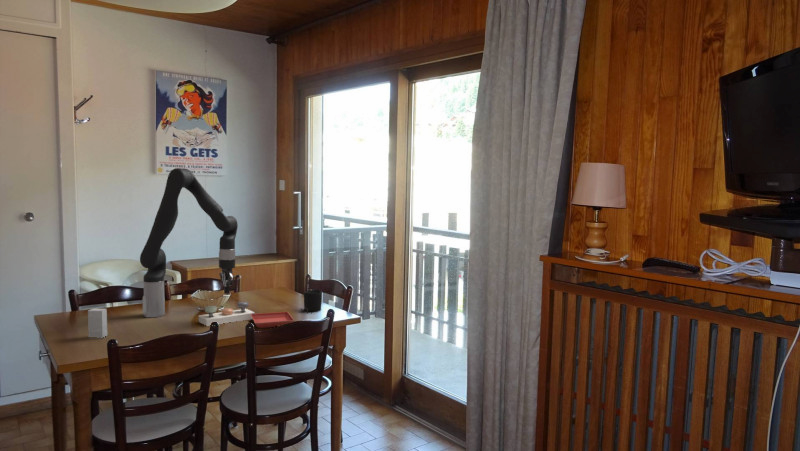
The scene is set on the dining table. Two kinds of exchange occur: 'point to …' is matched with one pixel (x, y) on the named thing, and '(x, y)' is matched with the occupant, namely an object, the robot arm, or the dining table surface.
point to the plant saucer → (271, 319)
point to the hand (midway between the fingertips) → (226, 293)
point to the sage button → (210, 310)
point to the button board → (226, 317)
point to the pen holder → (312, 300)
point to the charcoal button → (242, 306)
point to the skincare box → (97, 323)
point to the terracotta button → (227, 311)
